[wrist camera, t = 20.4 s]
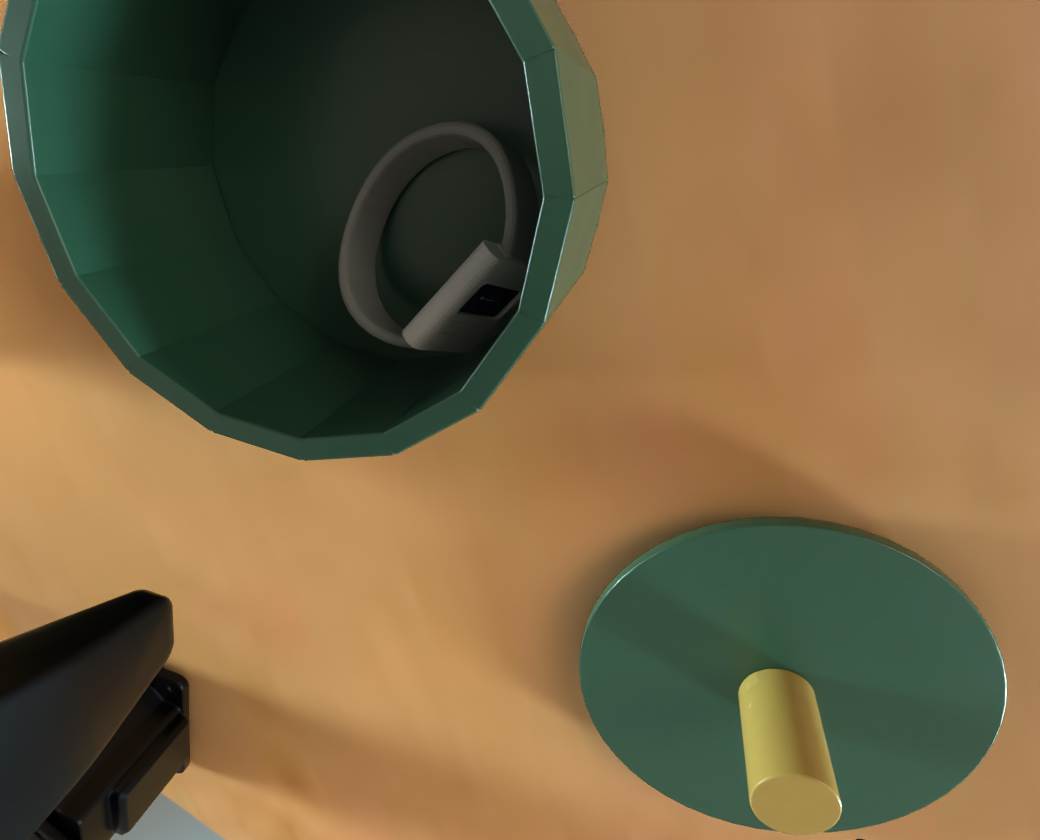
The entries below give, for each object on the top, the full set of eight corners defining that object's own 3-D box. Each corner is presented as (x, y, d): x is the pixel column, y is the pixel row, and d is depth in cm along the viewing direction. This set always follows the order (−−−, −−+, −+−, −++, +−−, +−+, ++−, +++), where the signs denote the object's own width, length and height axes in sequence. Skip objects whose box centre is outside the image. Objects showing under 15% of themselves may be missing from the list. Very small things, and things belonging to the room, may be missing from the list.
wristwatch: (359, 262, 20) (440, 387, 19) (287, 246, 18) (375, 388, 16) (488, 102, 18) (593, 234, 16) (424, 58, 15) (541, 208, 14)
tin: (204, 314, 22) (36, 376, 16) (204, -133, 17) (-46, -276, 11) (547, 417, 21) (496, 524, 15) (666, -35, 15) (657, -140, 10)
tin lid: (546, 733, 26) (518, 859, 21) (642, 454, 20) (632, 544, 16) (878, 850, 25) (923, 1012, 20) (1082, 585, 19) (1211, 728, 14)
